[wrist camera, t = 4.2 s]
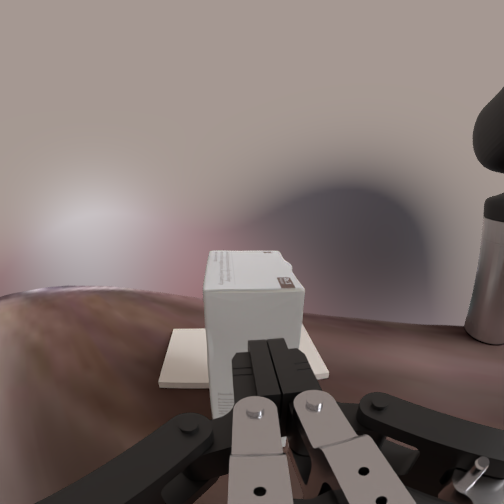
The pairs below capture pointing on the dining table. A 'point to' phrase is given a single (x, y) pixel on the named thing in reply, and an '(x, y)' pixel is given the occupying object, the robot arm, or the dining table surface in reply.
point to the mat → (195, 359)
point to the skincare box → (246, 312)
